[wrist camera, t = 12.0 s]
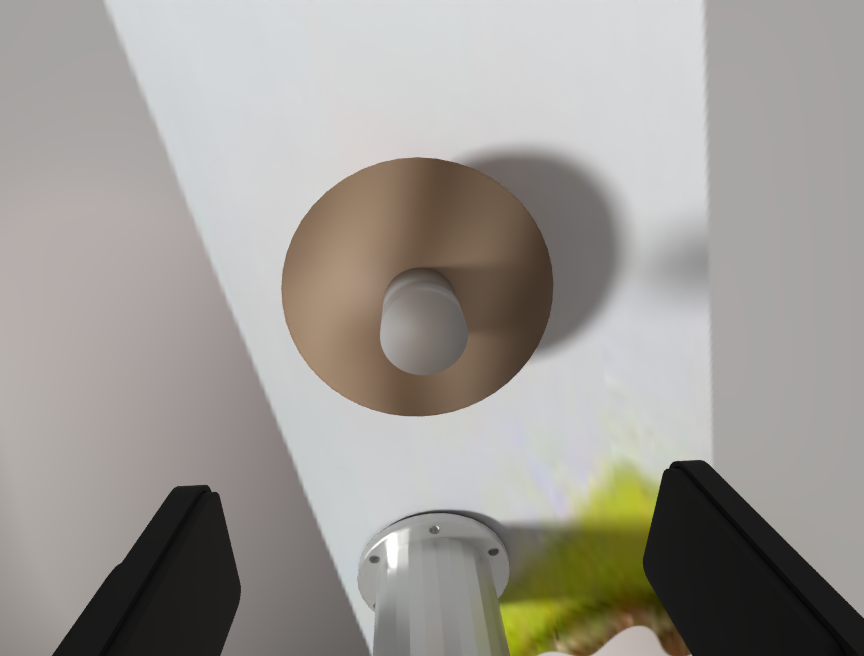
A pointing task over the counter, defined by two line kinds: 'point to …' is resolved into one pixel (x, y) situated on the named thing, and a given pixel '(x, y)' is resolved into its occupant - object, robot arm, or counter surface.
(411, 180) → the lid
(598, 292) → the counter surface
